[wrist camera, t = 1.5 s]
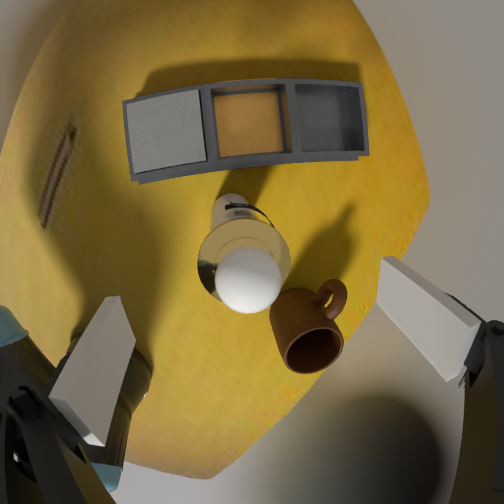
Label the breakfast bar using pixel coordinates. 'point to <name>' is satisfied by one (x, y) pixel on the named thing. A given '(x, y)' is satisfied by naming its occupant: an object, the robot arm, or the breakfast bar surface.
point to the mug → (309, 326)
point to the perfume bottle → (242, 257)
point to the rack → (243, 126)
